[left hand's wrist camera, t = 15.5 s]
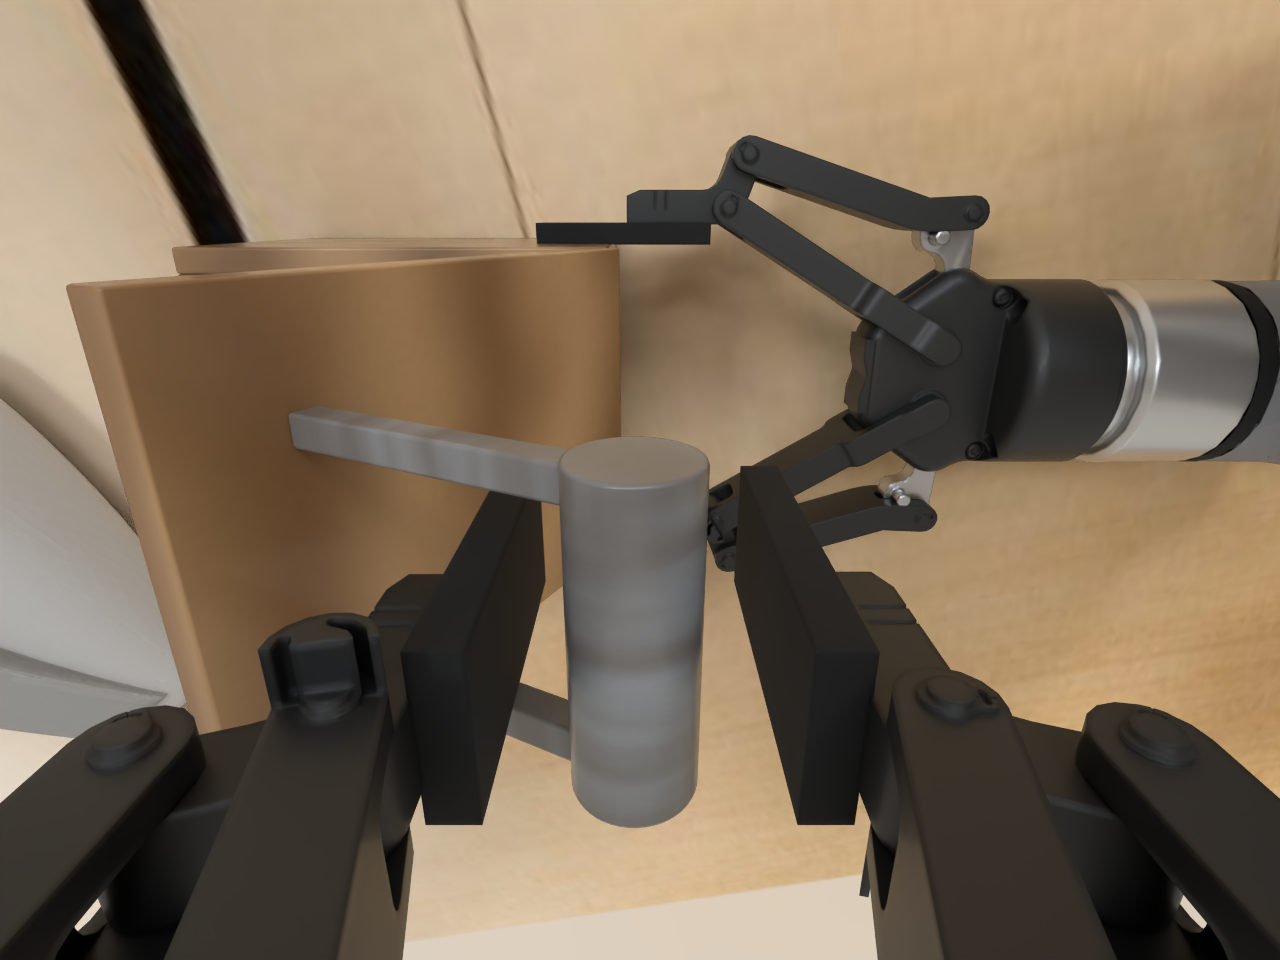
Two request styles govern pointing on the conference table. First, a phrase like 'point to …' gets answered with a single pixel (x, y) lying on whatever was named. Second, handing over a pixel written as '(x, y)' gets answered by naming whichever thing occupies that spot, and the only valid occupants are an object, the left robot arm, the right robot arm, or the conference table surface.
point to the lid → (410, 481)
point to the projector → (71, 598)
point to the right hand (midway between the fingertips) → (547, 372)
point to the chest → (345, 252)
